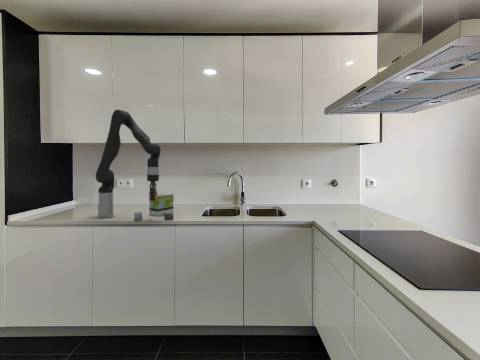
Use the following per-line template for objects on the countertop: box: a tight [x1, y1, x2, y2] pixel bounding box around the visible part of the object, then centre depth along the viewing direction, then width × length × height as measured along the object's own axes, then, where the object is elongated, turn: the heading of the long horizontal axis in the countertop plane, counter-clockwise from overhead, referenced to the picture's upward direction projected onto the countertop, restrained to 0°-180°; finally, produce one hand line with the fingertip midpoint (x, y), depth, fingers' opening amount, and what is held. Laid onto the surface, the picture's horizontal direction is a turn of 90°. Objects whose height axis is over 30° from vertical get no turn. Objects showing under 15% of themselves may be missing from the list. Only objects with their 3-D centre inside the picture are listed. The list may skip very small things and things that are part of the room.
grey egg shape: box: [133, 211, 143, 222], centre depth 200 cm, size 5×5×5 cm
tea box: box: [148, 192, 174, 217], centre depth 221 cm, size 15×10×15 cm, turn 149°
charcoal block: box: [163, 213, 174, 221], centre depth 203 cm, size 5×5×4 cm
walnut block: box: [148, 190, 158, 201], centre depth 200 cm, size 4×4×6 cm
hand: (153, 199), depth 200 cm, fingers closed on walnut block, 4 cm apart
